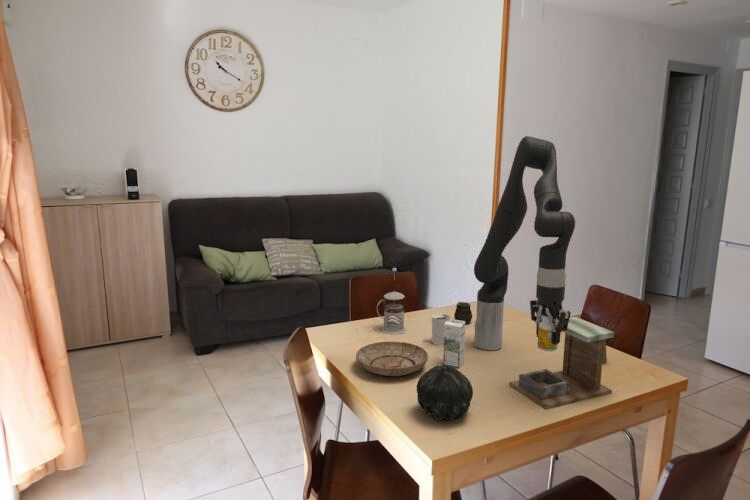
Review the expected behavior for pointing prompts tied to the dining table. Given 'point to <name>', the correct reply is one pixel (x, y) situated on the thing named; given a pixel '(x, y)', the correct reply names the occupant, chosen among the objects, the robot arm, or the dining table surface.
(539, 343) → the supplement bottle
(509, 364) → the dining table surface
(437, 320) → the white mug
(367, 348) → the ceramic bowl
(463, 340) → the syrup box
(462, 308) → the mate gourd
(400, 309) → the french press
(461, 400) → the squash
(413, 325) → the dining table surface
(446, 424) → the dining table surface
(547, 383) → the awning stand
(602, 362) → the cork
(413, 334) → the dining table surface
